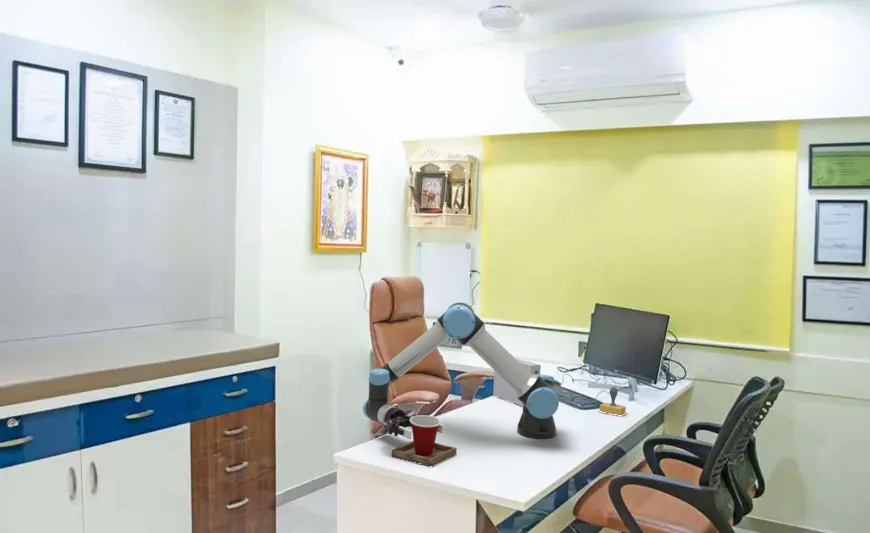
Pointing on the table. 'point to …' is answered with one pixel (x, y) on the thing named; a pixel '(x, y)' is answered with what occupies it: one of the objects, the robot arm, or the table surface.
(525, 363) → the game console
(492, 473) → the table surface
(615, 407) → the rubber stamp
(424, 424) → the plastic cup
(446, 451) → the cup tray
